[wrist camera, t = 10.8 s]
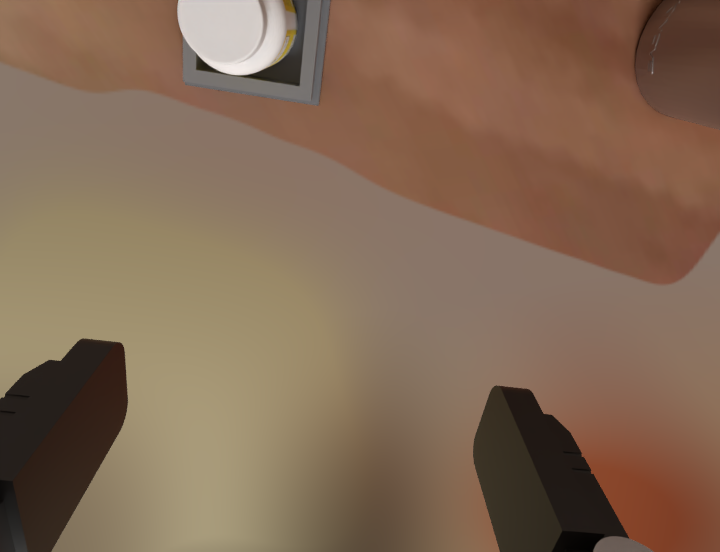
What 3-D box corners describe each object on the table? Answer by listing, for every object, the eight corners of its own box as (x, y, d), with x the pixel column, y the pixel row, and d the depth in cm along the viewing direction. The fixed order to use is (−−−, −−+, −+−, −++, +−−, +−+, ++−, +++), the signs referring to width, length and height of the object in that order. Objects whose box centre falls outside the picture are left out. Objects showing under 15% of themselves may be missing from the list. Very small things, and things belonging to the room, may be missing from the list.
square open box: (335, -46, 31) (334, -53, 28) (319, 103, 35) (316, 109, 32) (189, -73, 30) (174, -83, 27) (189, 83, 34) (175, 87, 31)
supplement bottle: (210, -31, 30) (154, -57, 21) (299, -25, 31) (279, -48, 22) (216, 65, 33) (168, 76, 24) (298, 70, 33) (281, 83, 24)
